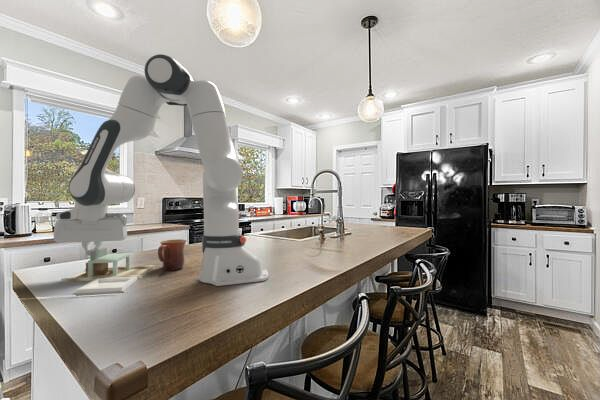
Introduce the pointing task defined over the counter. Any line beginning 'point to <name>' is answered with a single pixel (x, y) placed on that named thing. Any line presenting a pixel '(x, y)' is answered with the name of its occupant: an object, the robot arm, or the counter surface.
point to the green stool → (107, 260)
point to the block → (98, 269)
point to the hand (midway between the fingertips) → (92, 255)
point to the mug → (172, 254)
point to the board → (122, 272)
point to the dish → (106, 285)
